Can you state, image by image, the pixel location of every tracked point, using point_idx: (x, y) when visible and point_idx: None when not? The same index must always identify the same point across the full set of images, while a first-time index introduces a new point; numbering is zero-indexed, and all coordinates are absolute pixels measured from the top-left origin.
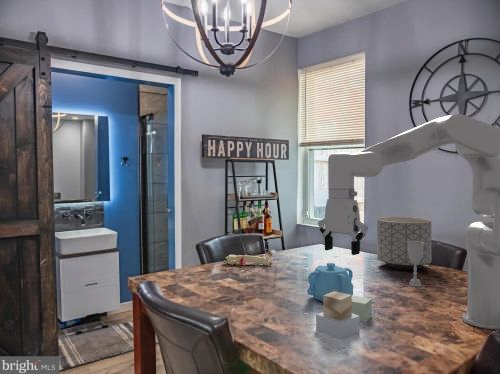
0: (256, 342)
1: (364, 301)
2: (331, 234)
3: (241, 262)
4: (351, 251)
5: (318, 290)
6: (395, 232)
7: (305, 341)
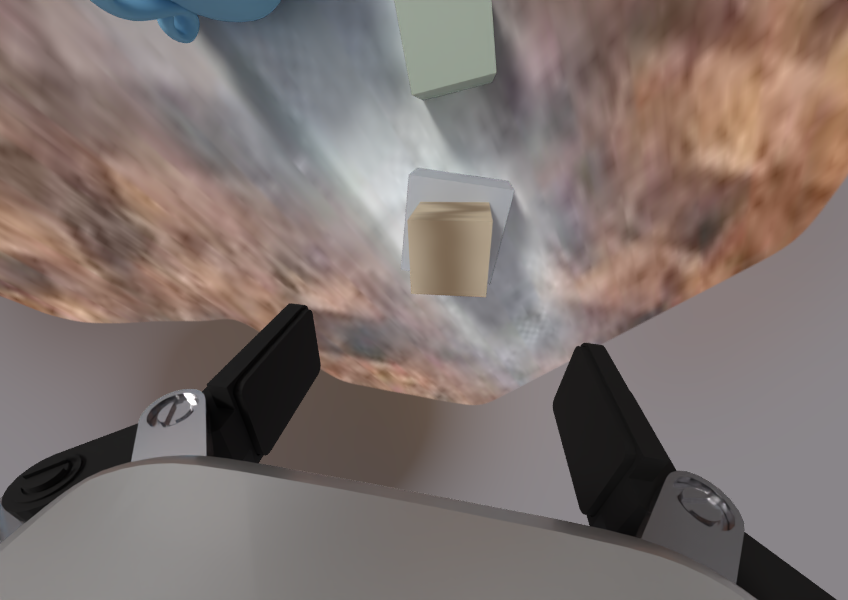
0: (371, 371)
1: (476, 36)
2: (208, 420)
3: None
4: (559, 426)
5: (206, 12)
6: None
7: (433, 319)
